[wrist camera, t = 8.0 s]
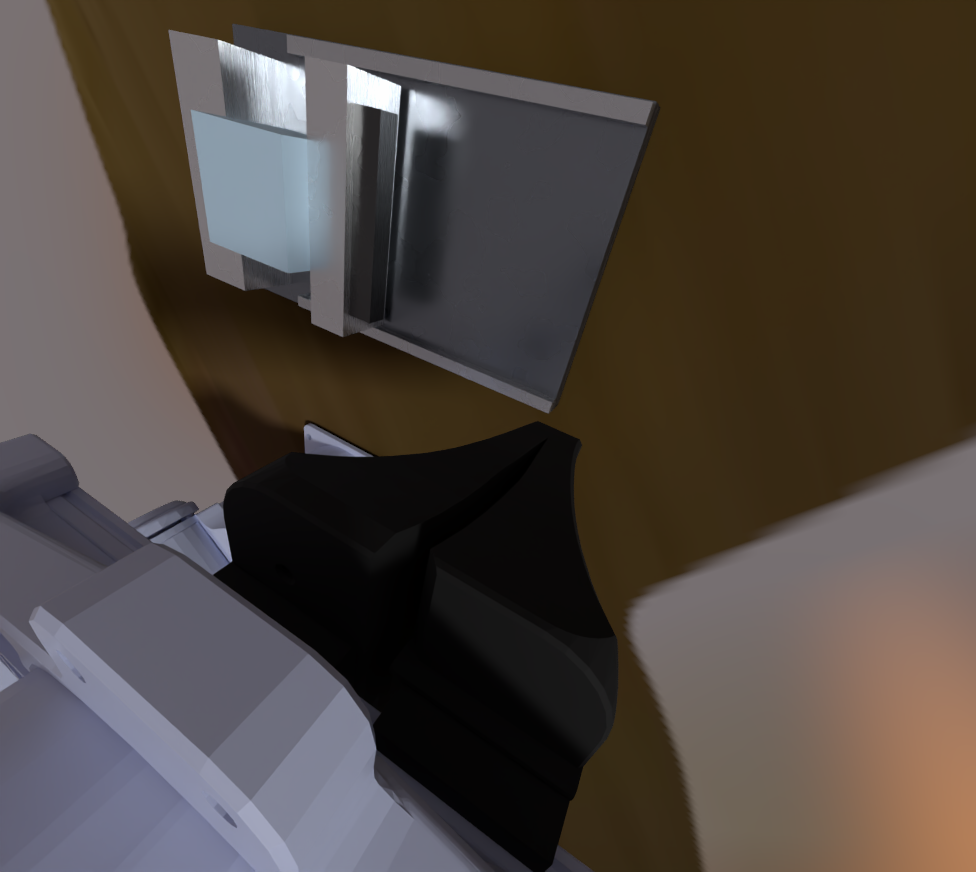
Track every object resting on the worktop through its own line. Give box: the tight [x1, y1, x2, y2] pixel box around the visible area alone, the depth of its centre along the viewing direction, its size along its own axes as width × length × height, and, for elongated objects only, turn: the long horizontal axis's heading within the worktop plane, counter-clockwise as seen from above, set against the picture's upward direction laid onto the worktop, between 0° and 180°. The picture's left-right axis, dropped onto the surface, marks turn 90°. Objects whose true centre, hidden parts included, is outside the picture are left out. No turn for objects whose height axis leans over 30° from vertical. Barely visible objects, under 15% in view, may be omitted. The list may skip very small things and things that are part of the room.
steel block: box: [191, 110, 310, 273], centre depth 19 cm, size 5×5×4 cm
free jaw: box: [305, 56, 401, 337], centre depth 18 cm, size 10×3×3 cm, turn 167°
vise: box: [169, 24, 660, 414], centre depth 19 cm, size 12×20×4 cm, turn 77°
